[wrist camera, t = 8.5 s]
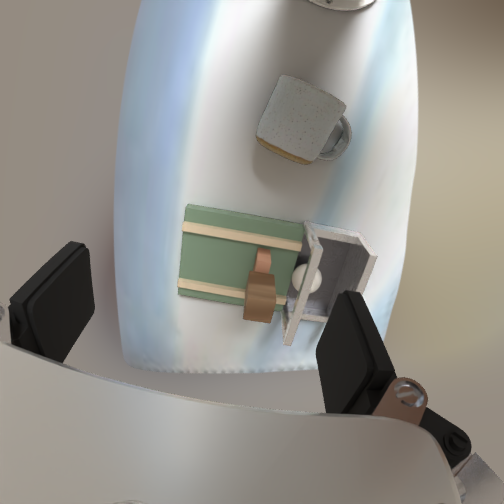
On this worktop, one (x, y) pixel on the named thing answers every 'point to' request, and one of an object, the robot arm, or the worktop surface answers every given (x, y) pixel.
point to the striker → (260, 290)
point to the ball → (298, 277)
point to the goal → (326, 274)
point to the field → (234, 253)
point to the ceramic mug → (302, 122)
